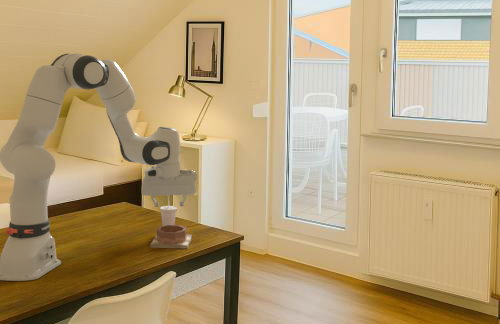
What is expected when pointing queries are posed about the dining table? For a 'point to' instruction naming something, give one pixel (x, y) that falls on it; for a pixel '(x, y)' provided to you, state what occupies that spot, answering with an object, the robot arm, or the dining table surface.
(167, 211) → the smoothie
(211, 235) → the dining table surface
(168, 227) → the bottle stand
